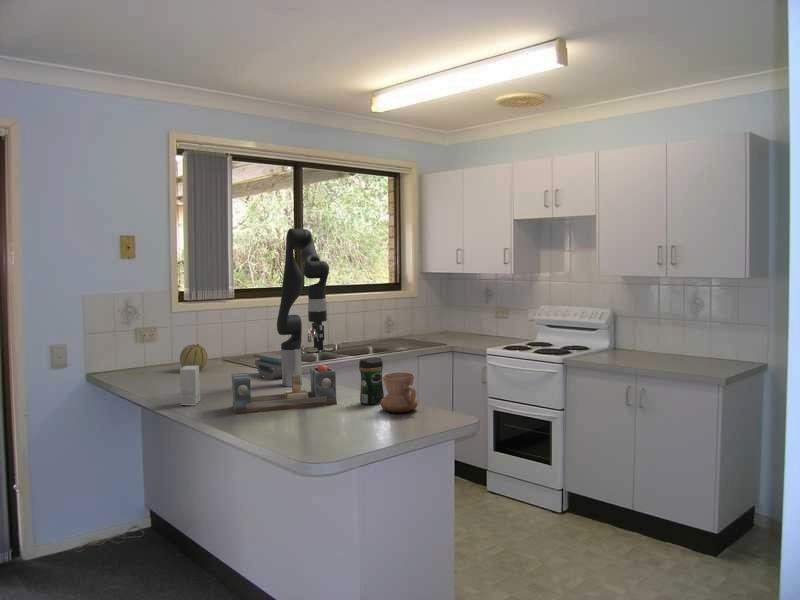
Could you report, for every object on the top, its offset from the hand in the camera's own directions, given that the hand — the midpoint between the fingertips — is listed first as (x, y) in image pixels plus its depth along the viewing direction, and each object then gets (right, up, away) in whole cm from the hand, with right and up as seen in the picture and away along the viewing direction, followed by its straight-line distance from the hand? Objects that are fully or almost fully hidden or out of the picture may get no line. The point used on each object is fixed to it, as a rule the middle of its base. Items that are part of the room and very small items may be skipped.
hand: (318, 349), depth 262 cm
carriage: (-9, -21, -2) cm, 22 cm away
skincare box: (-54, -23, +3) cm, 58 cm away
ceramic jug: (+34, -23, -17) cm, 44 cm away
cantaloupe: (-78, -19, +84) cm, 117 cm away
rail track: (-13, -23, -3) cm, 26 cm away
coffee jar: (+22, -22, -2) cm, 31 cm away
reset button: (+2, -11, +1) cm, 11 cm away
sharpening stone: (-31, -19, +63) cm, 73 cm away
